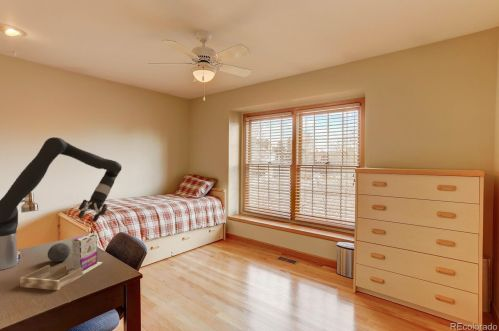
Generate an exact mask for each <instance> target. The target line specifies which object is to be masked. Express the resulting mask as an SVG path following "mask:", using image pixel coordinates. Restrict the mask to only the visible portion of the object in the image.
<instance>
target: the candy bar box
mask: <svg viewBox="0 0 499 331" xmlns="http://www.w3.org/2000/svg"><path fill="white" fill-rule="evenodd" d="M97 236H98V234H97V233H91V232H90V233H89V232H88V233H87V234H84V235H81V236H78V237H76V238H74V239H73V238H72V240H71V241H72V267H73V269H72V270H73V271H75V270H77V269H79V268H81V267H82V268H83V271H84V270H86V269H87V268H89V267H91V266H93V265H95V264H96V263H97V262H98V242H97V240H98V238H97Z"/></svg>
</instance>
